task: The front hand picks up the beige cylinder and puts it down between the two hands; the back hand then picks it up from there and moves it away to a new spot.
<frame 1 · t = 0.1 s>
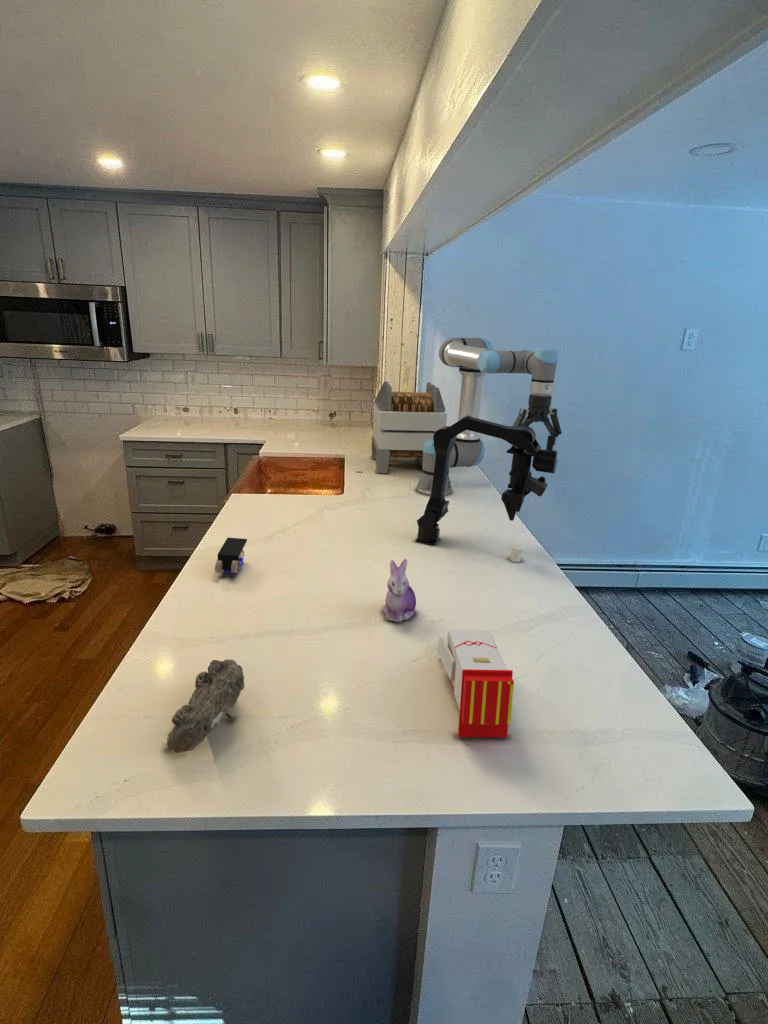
front hand: (514, 515, 180), 14 cm above the counter, tool pointing down, fingers open, 9 cm apart
back hand: (532, 455, 201), 28 cm above the counter, tool pointing down, fingers open, 13 cm apart
toy: (469, 691, 119), on the counter
figurine: (399, 614, 147), on the counter
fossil: (212, 717, 108), on the counter
figurine character: (232, 569, 168), on the counter
beige cylinder: (515, 559, 183), on the counter
grey crate: (405, 465, 288), on the counter
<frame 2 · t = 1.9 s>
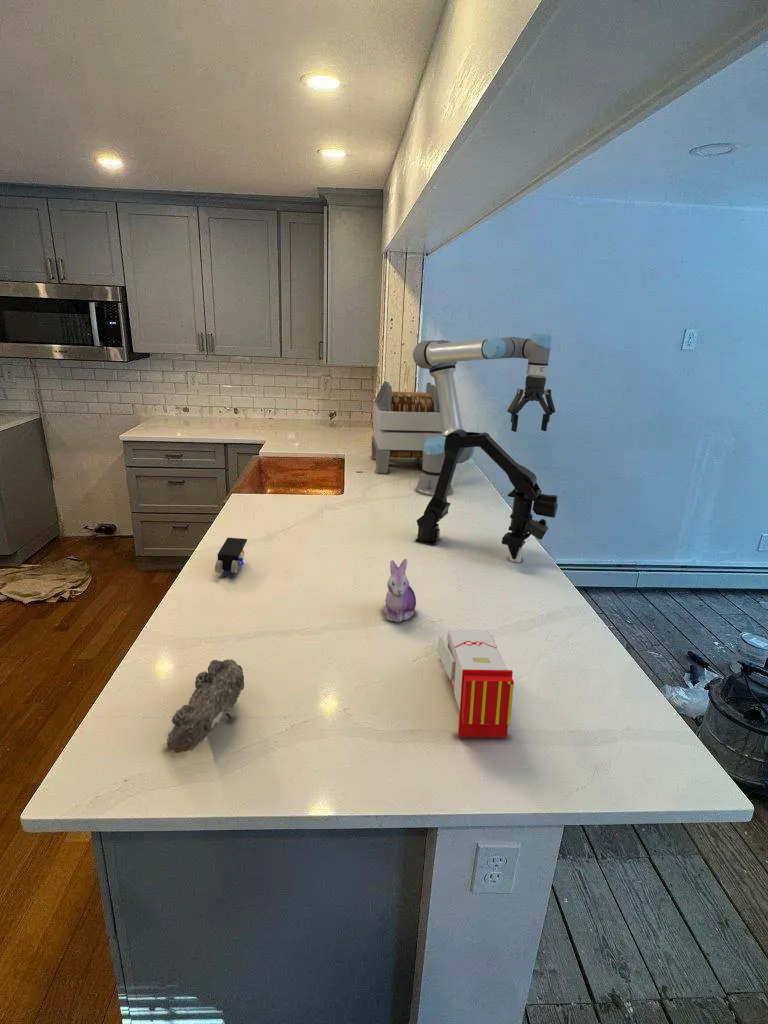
front hand: (515, 557, 183), 1 cm above the counter, tool pointing down, fingers closed on beige cylinder, 3 cm apart
back hand: (528, 431, 224), 31 cm above the counter, tool pointing down, fingers open, 13 cm apart
beige cylinder: (515, 559, 183), on the counter, touching front hand
everything else where it was.
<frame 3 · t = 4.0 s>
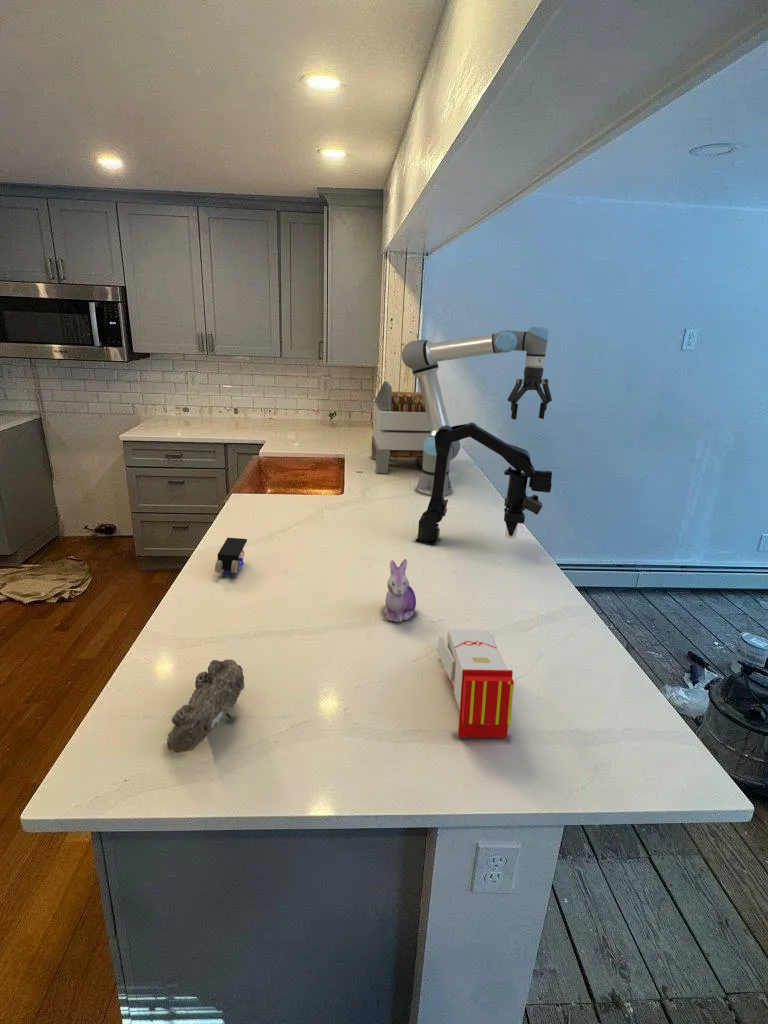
front hand: (510, 533, 188), 6 cm above the counter, tool pointing down, fingers closed on beige cylinder, 3 cm apart
back hand: (527, 418, 238), 33 cm above the counter, tool pointing down, fingers open, 13 cm apart
beige cylinder: (510, 536, 188), point 5 cm above the counter, touching front hand
everything else where it was.
when the front hand's fingers open (2 cm above the counter, at t = 6.2 s): beige cylinder stays where it is, on the counter.
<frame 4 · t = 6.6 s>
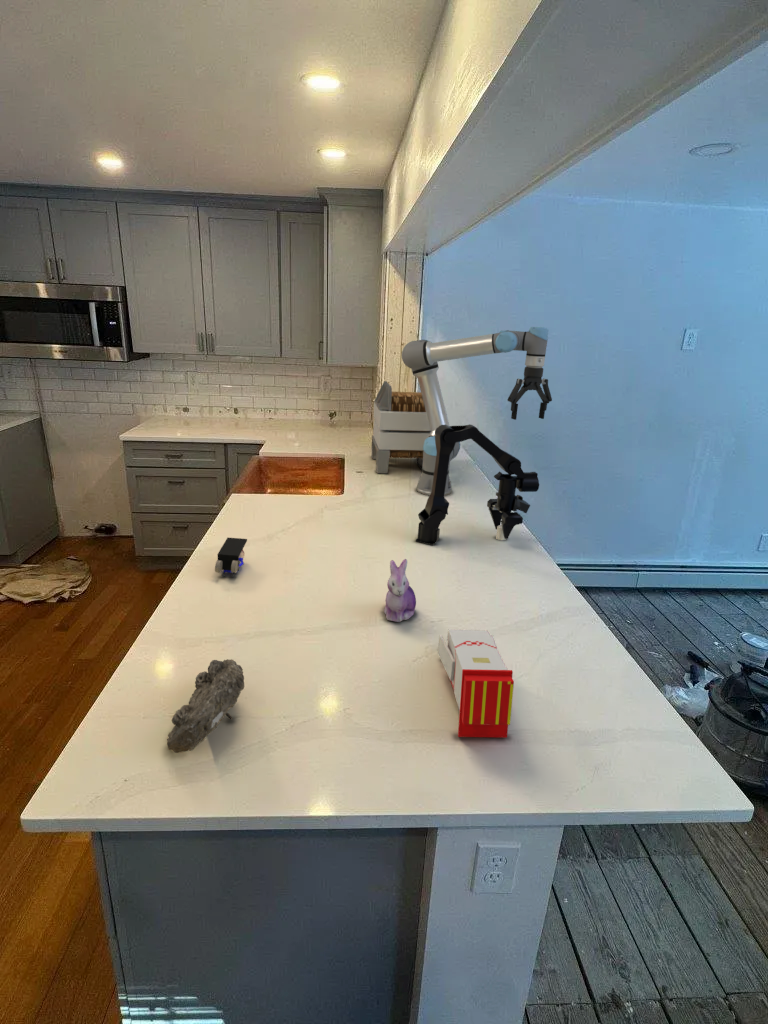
front hand: (501, 533, 199), 2 cm above the counter, tool pointing down, fingers open, 8 cm apart
back hand: (527, 418, 238), 33 cm above the counter, tool pointing down, fingers open, 13 cm apart
beige cylinder: (500, 538, 200), on the counter
everything else where it was.
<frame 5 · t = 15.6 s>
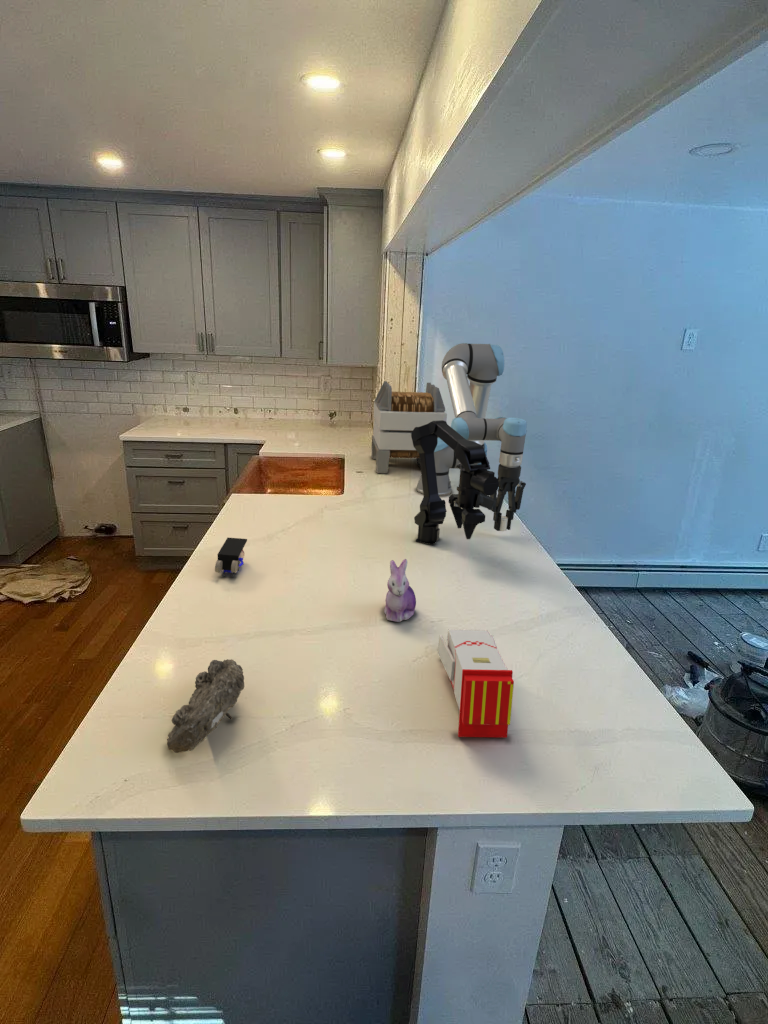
front hand: (463, 533, 177), 10 cm above the counter, tool pointing down, fingers open, 9 cm apart
back hand: (501, 528, 199), 4 cm above the counter, tool pointing down, fingers closed on beige cylinder, 3 cm apart
beige cylinder: (501, 529, 199), point 3 cm above the counter, touching back hand
everything else where it was.
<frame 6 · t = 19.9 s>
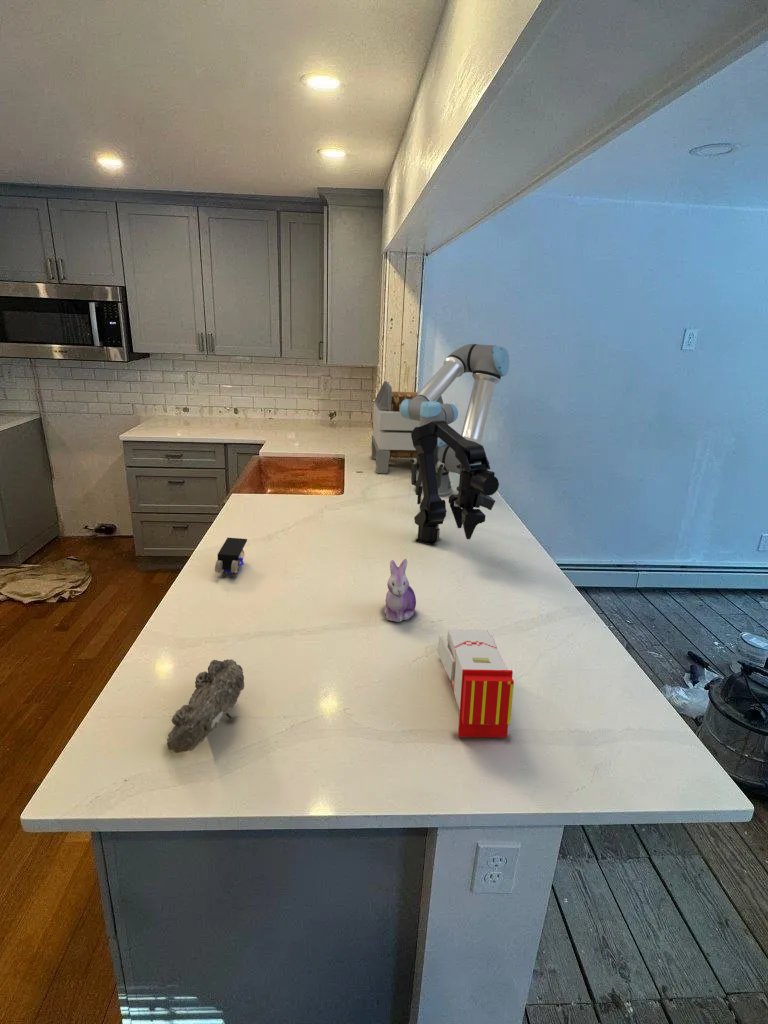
front hand: (463, 533, 177), 10 cm above the counter, tool pointing down, fingers open, 9 cm apart
back hand: (424, 504, 217), 5 cm above the counter, tool pointing down, fingers closed on beige cylinder, 3 cm apart
beige cylinder: (424, 504, 217), point 4 cm above the counter, touching back hand
everything else where it was.
when the back hand's fingers open (0 cm above the counter, at t = 24.6 s): beige cylinder stays where it is, on the counter.
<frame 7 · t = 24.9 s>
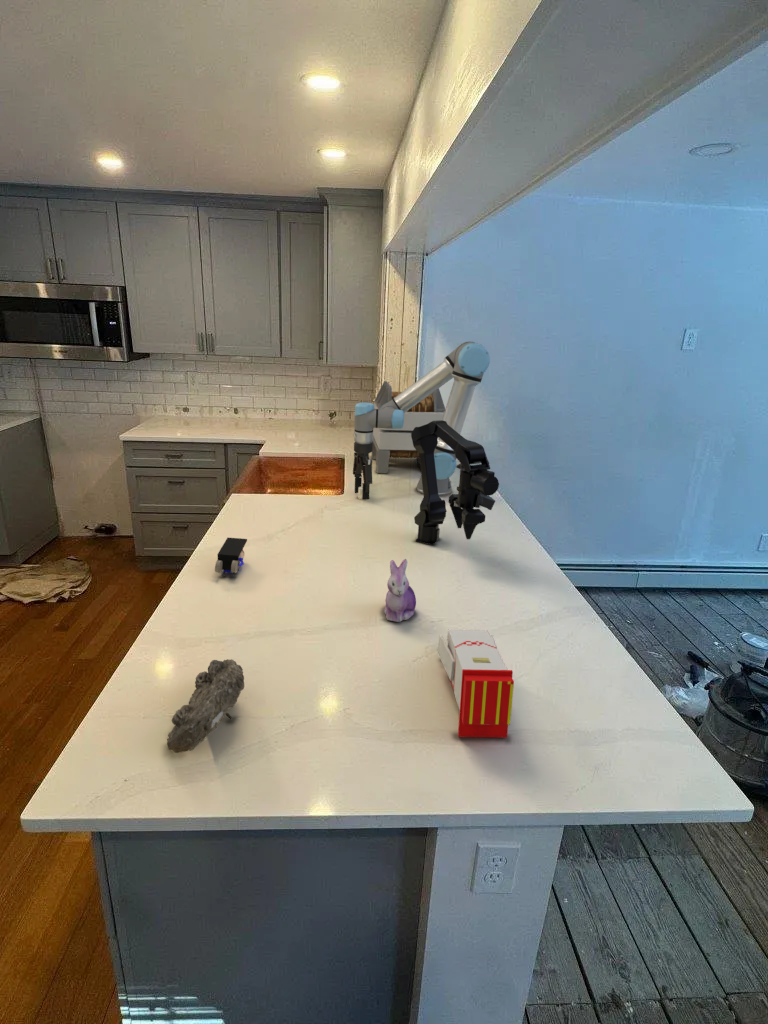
front hand: (463, 533, 177), 10 cm above the counter, tool pointing down, fingers open, 9 cm apart
back hand: (361, 495, 235), 1 cm above the counter, tool pointing down, fingers open, 8 cm apart
beige cylinder: (362, 498, 236), on the counter
everything else where it was.
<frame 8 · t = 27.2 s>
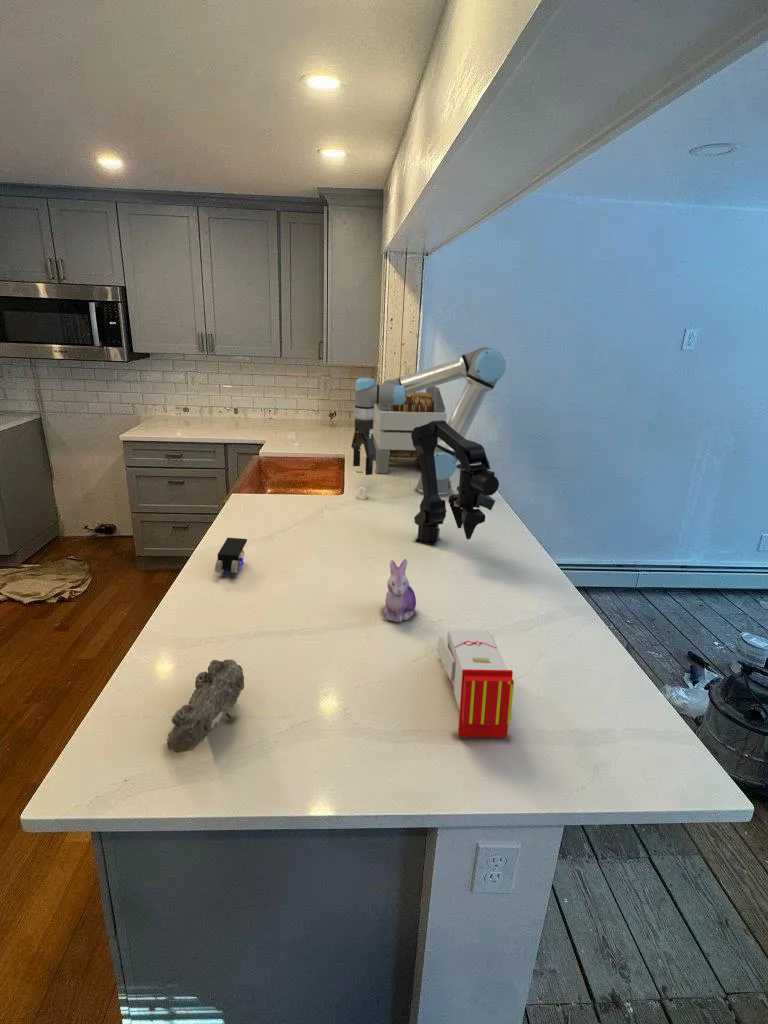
front hand: (463, 533, 177), 10 cm above the counter, tool pointing down, fingers open, 9 cm apart
back hand: (362, 470, 231), 12 cm above the counter, tool pointing down, fingers open, 13 cm apart
nothing on the counter moved.
at the end: beige cylinder inside the target area (0.3 cm from its centre), on the counter; beige cylinder tilted 0°; the two hands never held the beige cylinder at the same time; the front hand is holding nothing; the back hand is holding nothing; beige cylinder at rest at the end (0.0 cm/s) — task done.
